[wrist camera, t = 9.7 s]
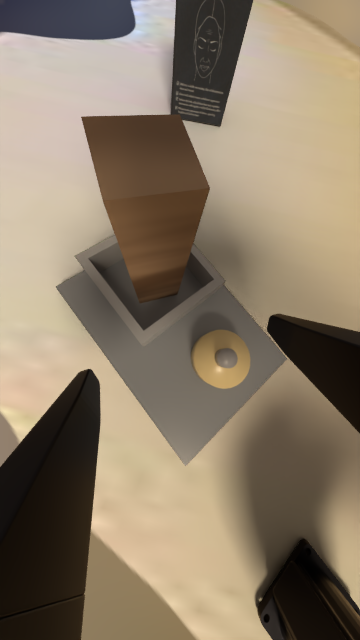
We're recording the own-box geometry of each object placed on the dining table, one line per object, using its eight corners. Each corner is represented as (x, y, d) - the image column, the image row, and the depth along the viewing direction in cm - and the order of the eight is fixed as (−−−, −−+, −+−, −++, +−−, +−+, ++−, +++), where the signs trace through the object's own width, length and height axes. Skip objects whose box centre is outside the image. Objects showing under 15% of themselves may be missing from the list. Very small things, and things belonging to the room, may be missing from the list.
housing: (280, 358, 18) (313, 359, 14) (183, 458, 14) (192, 496, 11) (169, 228, 20) (172, 197, 16) (61, 290, 16) (31, 270, 12)
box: (219, 104, 26) (257, -57, 16) (220, 128, 25) (262, -29, 15) (171, 93, 25) (180, -84, 15) (170, 118, 24) (178, -58, 14)
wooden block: (177, 294, 17) (209, 188, 6) (139, 303, 16) (102, 200, 5) (166, 261, 18) (179, 114, 7) (130, 268, 17) (81, 116, 6)
